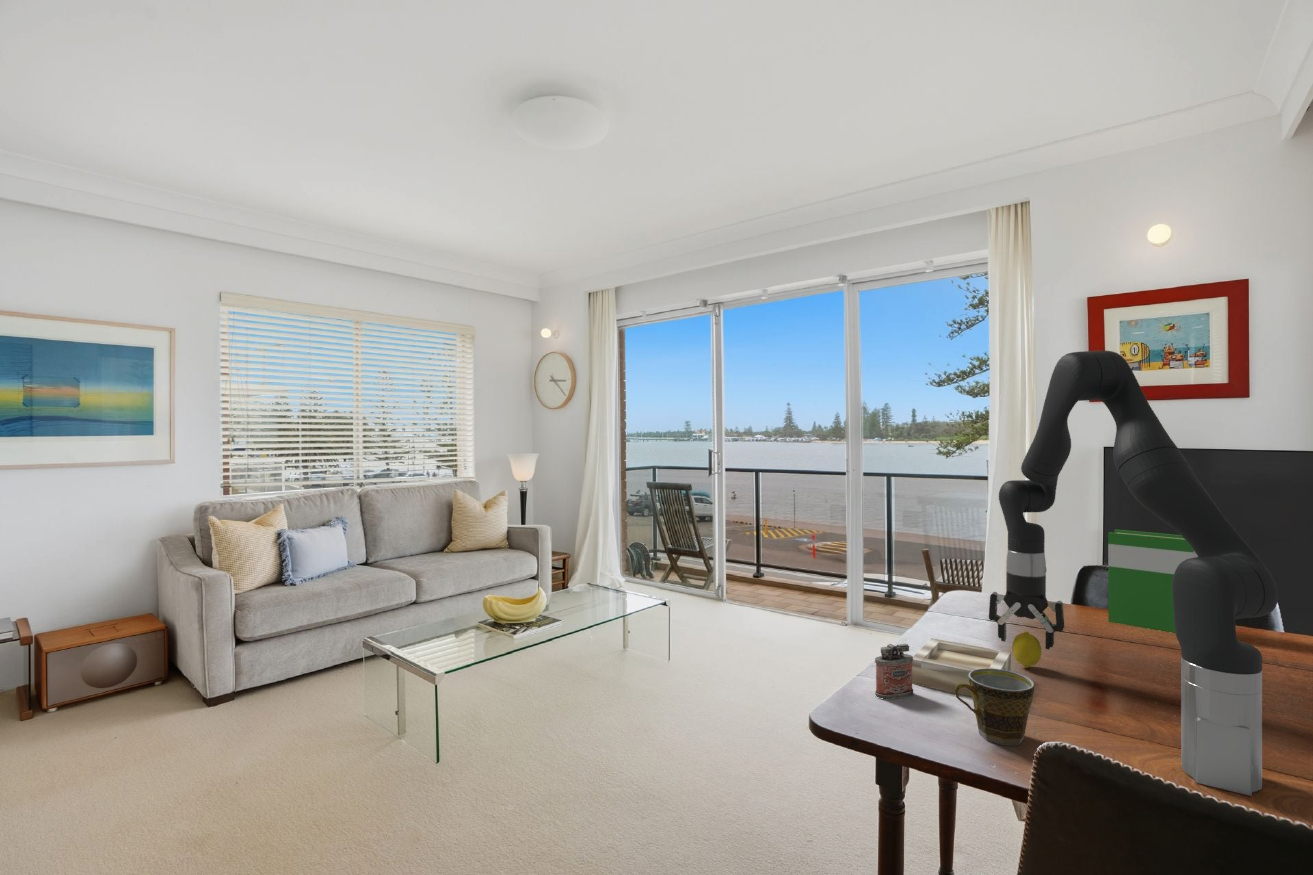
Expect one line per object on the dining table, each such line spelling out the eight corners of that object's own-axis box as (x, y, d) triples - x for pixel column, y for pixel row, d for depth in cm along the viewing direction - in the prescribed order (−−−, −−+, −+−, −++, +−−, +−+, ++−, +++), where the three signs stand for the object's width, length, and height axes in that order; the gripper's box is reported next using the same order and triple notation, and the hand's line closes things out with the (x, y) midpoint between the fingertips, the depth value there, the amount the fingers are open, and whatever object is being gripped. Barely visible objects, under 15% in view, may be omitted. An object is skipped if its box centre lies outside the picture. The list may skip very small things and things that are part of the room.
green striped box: (1108, 621, 174) (1108, 532, 174) (1115, 616, 180) (1115, 529, 179) (1192, 636, 162) (1192, 540, 161) (1197, 630, 167) (1197, 536, 166)
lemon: (1045, 673, 139) (1045, 636, 139) (1017, 671, 140) (1017, 635, 140) (1035, 664, 145) (1035, 628, 144) (1008, 662, 146) (1008, 627, 146)
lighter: (881, 701, 127) (881, 649, 126) (871, 694, 130) (871, 644, 130) (917, 695, 129) (916, 645, 129) (906, 689, 132) (906, 640, 132)
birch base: (996, 704, 125) (996, 676, 125) (911, 685, 135) (911, 658, 135) (1011, 678, 138) (1010, 652, 138) (931, 662, 148) (931, 638, 148)
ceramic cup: (1012, 722, 117) (1012, 667, 116) (1048, 750, 107) (1047, 690, 106) (941, 724, 116) (941, 669, 116) (970, 752, 106) (969, 692, 106)
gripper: (986, 570, 143) (986, 643, 144) (1062, 579, 135) (1061, 656, 135) (993, 563, 149) (992, 633, 150) (1065, 572, 141) (1065, 646, 141)
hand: (1025, 644), depth 143 cm, fingers open, 8 cm apart
